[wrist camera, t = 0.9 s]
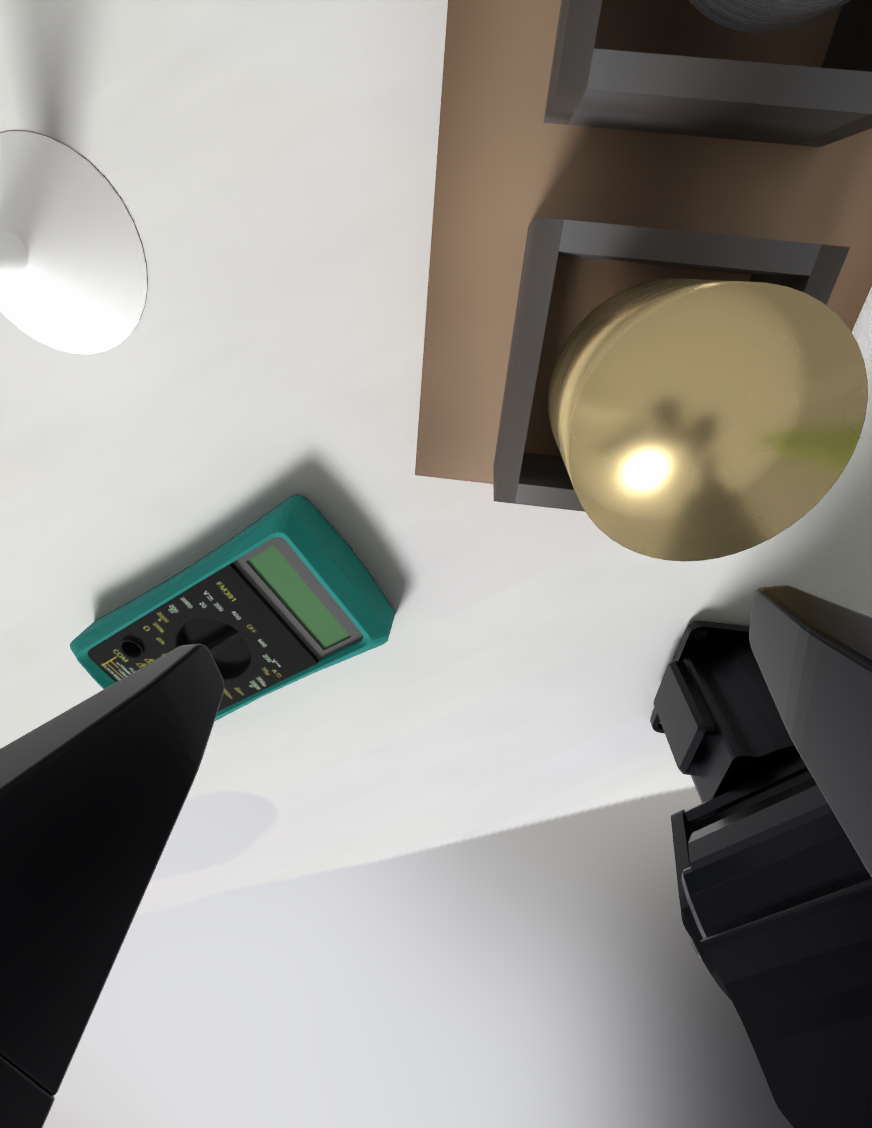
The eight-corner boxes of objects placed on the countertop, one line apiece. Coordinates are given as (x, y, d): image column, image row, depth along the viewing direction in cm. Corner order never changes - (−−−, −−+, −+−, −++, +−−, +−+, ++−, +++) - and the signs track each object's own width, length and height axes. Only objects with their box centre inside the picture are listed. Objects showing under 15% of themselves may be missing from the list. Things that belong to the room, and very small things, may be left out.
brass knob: (797, 289, 12) (929, 298, 8) (717, 499, 14) (792, 574, 11) (571, 267, 12) (604, 266, 8) (531, 478, 14) (545, 545, 11)
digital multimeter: (89, 622, 27) (47, 659, 25) (307, 483, 22) (284, 511, 20) (190, 714, 30) (162, 756, 27) (404, 608, 25) (394, 647, 22)
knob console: (1012, -231, 12) (1428, -628, 7) (734, 483, 20) (819, 558, 15) (479, -265, 12) (472, -663, 7) (424, 448, 21) (402, 510, 15)
